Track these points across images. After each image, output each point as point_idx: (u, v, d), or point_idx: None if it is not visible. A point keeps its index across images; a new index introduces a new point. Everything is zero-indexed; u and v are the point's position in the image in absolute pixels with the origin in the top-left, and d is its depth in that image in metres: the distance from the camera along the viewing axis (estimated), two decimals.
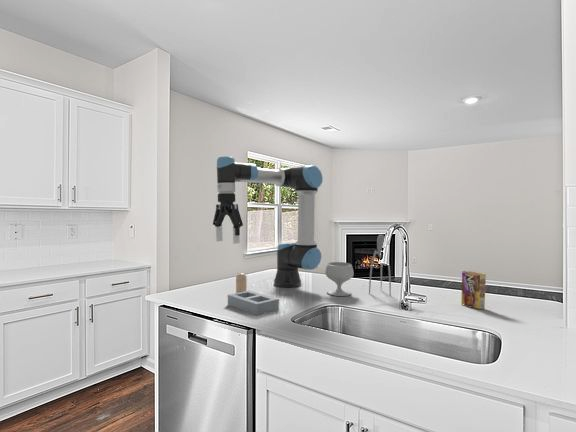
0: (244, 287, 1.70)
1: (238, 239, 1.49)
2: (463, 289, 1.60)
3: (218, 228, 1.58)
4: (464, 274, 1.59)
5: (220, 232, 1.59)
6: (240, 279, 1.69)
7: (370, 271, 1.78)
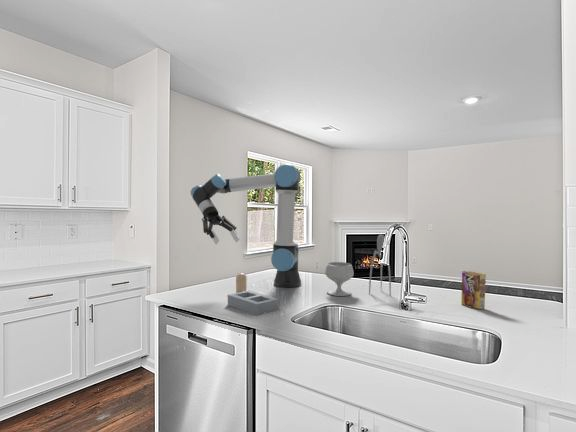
0: (244, 287, 1.70)
1: (216, 238, 1.72)
2: (463, 289, 1.60)
3: (231, 233, 1.85)
4: (464, 274, 1.59)
5: (234, 234, 1.84)
6: (240, 279, 1.69)
7: (370, 271, 1.78)
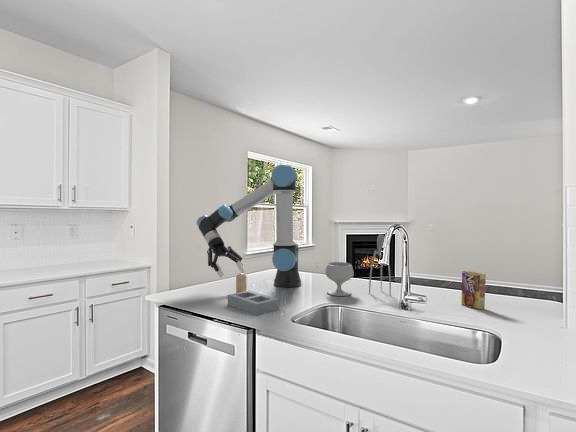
0: (244, 287, 1.70)
1: (220, 272, 1.70)
2: (463, 289, 1.60)
3: (237, 264, 1.82)
4: (464, 274, 1.59)
5: (239, 265, 1.81)
6: (240, 279, 1.69)
7: (370, 271, 1.78)
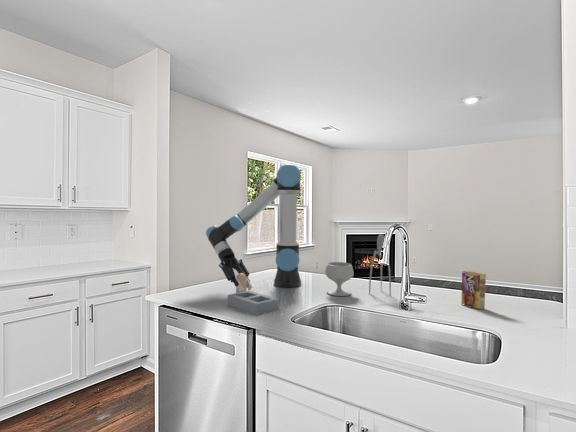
0: (244, 287, 1.70)
1: (240, 287, 1.67)
2: (463, 289, 1.60)
3: None
4: (464, 274, 1.59)
5: None
6: (240, 279, 1.69)
7: (370, 271, 1.78)
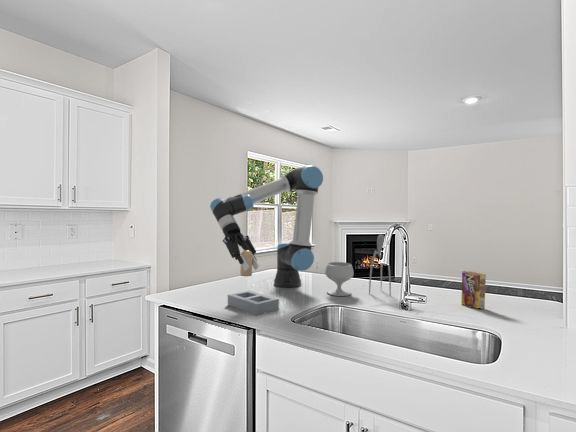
0: (249, 265, 1.53)
1: (245, 265, 1.51)
2: (463, 289, 1.60)
3: None
4: (464, 274, 1.59)
5: (252, 260, 1.56)
6: (245, 256, 1.53)
7: (370, 271, 1.78)
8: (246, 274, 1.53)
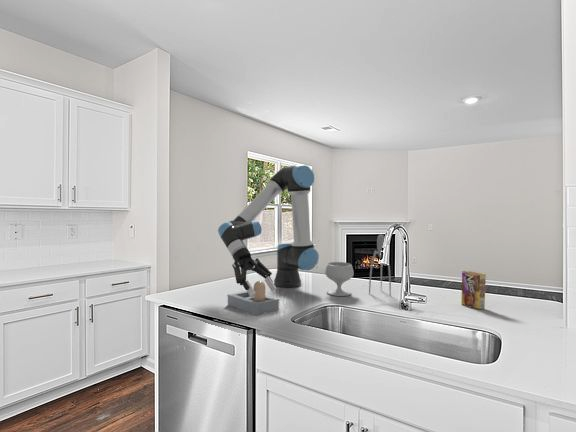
0: (263, 297, 1.48)
1: (251, 291, 1.43)
2: (463, 289, 1.60)
3: (266, 280, 1.55)
4: (464, 274, 1.59)
5: (269, 282, 1.54)
6: (258, 288, 1.47)
7: (370, 271, 1.78)
8: None
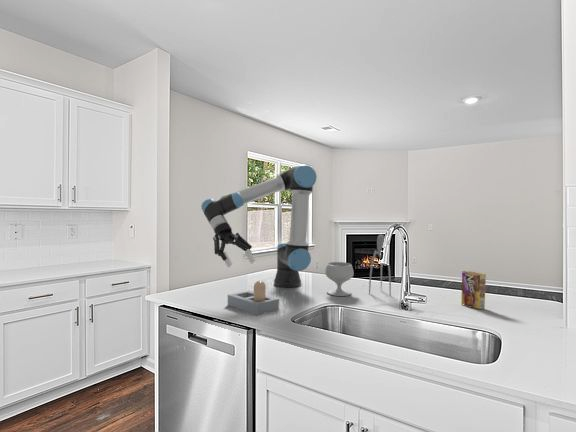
0: (263, 297, 1.48)
1: (228, 261, 1.52)
2: (463, 289, 1.60)
3: (246, 252, 1.65)
4: (464, 274, 1.59)
5: (249, 254, 1.63)
6: (258, 288, 1.47)
7: (370, 271, 1.78)
8: None
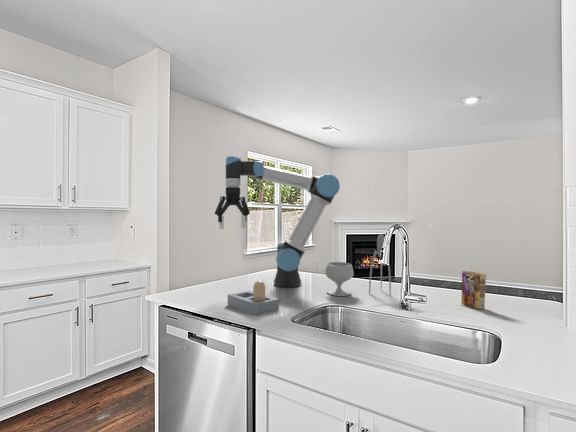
0: (263, 297, 1.48)
1: (221, 225, 1.78)
2: (463, 289, 1.60)
3: (242, 217, 1.88)
4: (464, 274, 1.59)
5: (243, 220, 1.87)
6: (258, 288, 1.47)
7: (370, 271, 1.78)
8: None
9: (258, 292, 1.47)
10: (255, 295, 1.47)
